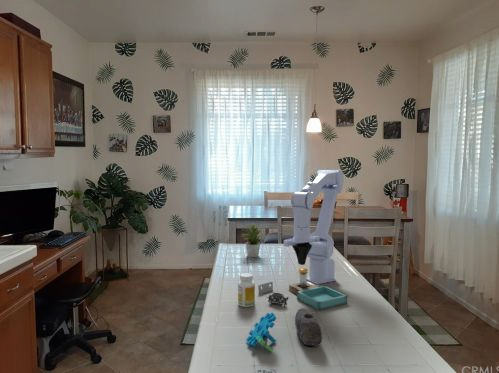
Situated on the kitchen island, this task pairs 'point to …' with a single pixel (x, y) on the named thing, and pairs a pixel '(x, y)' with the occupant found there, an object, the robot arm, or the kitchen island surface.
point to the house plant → (252, 241)
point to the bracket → (268, 289)
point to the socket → (296, 287)
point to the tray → (321, 297)
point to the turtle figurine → (277, 299)
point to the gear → (262, 332)
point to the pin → (303, 277)
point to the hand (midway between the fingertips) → (301, 264)
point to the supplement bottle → (246, 290)
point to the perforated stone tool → (308, 327)
